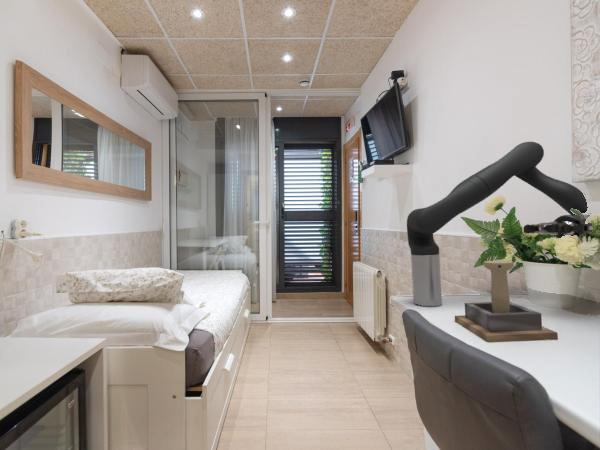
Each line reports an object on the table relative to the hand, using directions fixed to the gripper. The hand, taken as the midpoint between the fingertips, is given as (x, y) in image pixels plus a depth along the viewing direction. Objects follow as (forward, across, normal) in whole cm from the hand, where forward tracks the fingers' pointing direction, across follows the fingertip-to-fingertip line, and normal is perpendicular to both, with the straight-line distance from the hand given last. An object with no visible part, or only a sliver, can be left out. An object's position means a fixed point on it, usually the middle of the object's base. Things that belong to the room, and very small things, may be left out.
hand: (541, 229), depth 86 cm
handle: (+17, -1, +23) cm, 28 cm away
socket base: (+17, -1, +25) cm, 30 cm away
